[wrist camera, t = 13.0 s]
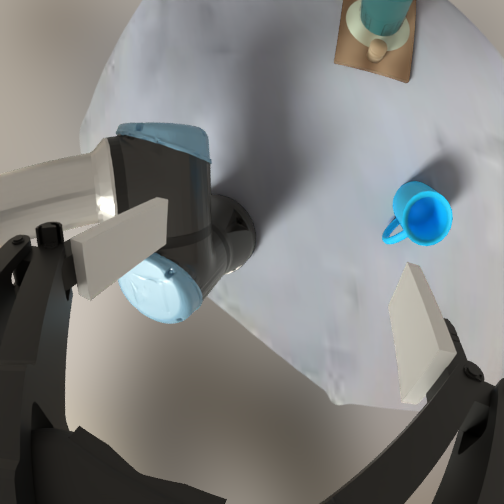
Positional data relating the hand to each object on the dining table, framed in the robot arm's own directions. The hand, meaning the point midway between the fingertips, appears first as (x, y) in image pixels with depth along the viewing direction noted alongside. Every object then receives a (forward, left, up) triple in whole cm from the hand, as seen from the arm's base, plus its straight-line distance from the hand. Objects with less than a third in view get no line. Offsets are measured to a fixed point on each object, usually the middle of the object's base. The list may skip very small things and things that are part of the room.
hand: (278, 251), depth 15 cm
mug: (+16, -3, -35) cm, 39 cm away
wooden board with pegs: (+5, +27, -35) cm, 44 cm away
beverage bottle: (+5, +27, -33) cm, 43 cm away
